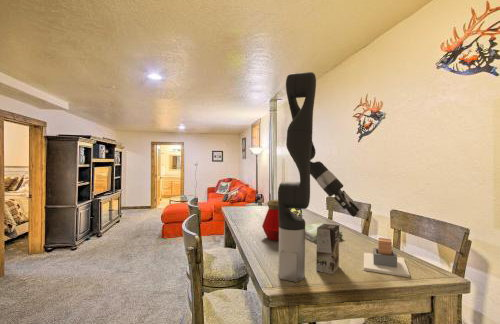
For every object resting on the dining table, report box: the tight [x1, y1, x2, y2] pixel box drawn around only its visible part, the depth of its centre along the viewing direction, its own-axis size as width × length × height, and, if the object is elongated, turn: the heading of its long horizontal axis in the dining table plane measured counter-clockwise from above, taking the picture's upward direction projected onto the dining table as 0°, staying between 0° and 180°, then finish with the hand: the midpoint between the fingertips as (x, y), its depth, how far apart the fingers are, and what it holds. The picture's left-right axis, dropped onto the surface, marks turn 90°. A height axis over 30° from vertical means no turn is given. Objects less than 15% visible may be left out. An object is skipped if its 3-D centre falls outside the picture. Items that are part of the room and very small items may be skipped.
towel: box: [305, 222, 343, 243], centre depth 147 cm, size 18×21×5 cm
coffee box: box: [315, 223, 340, 275], centre depth 102 cm, size 9×6×16 cm
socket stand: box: [363, 247, 411, 278], centre depth 107 cm, size 18×15×5 cm
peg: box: [377, 237, 393, 256], centre depth 106 cm, size 4×4×9 cm
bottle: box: [262, 199, 279, 242], centre depth 141 cm, size 16×14×20 cm
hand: (356, 213), depth 111 cm, fingers open, 8 cm apart
